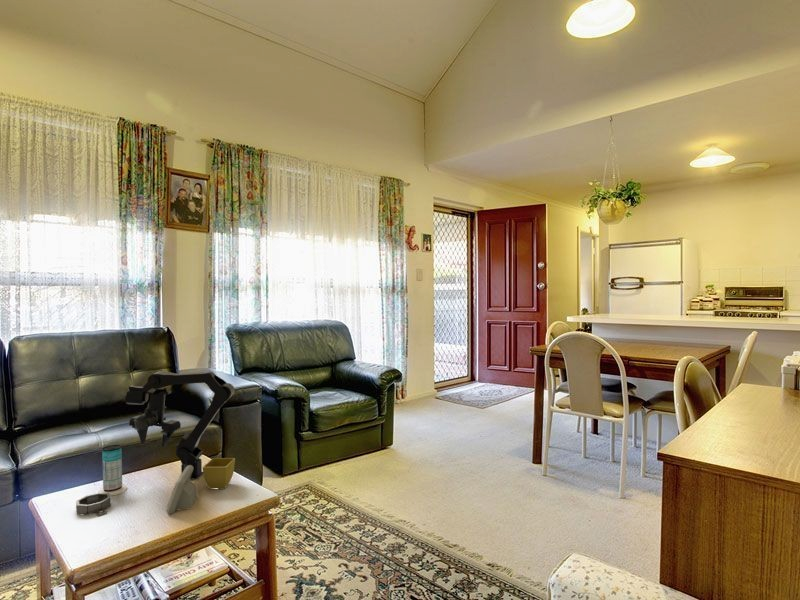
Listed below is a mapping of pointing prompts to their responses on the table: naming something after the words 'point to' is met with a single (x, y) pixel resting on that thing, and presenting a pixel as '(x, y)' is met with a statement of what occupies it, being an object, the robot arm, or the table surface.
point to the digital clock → (183, 492)
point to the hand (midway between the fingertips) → (153, 445)
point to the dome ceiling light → (114, 491)
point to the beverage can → (112, 468)
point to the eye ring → (94, 504)
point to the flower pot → (218, 472)
